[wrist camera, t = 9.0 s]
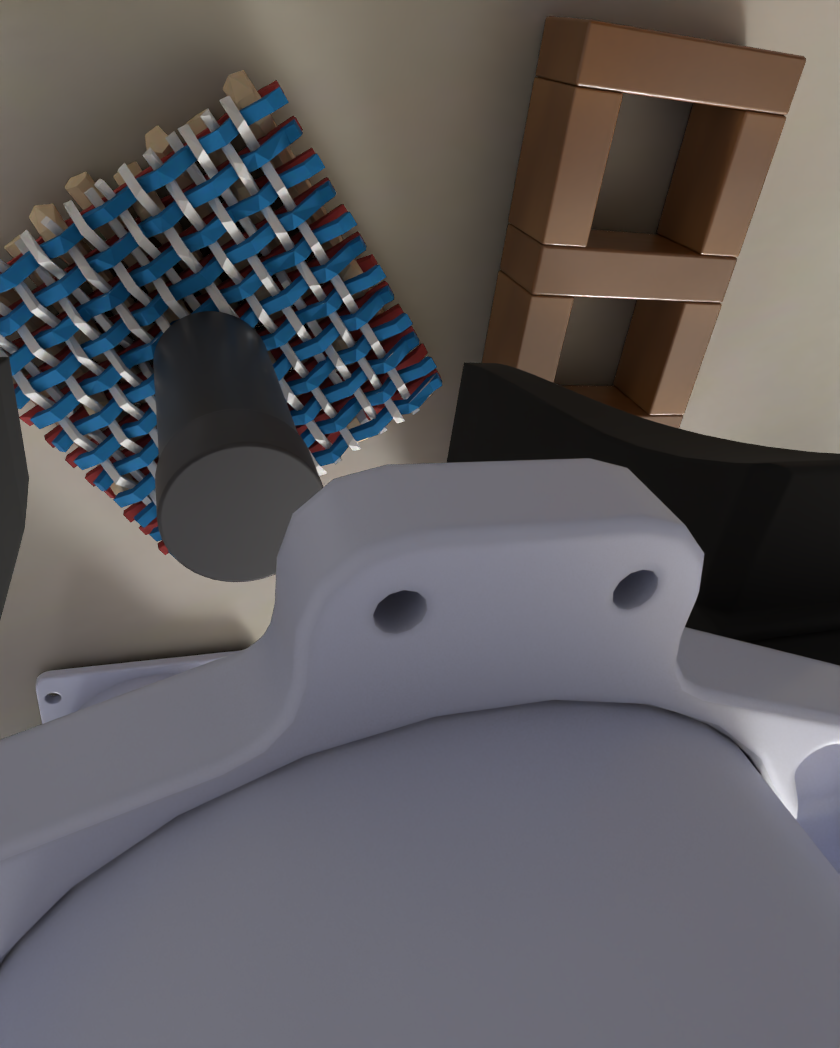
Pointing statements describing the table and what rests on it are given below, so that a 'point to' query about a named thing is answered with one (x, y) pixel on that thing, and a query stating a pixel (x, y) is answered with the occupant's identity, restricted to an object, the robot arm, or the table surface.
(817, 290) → the table surface
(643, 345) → the marker stand
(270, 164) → the woven mat
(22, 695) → the table surface
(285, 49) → the table surface
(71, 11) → the table surface
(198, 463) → the cylinder
